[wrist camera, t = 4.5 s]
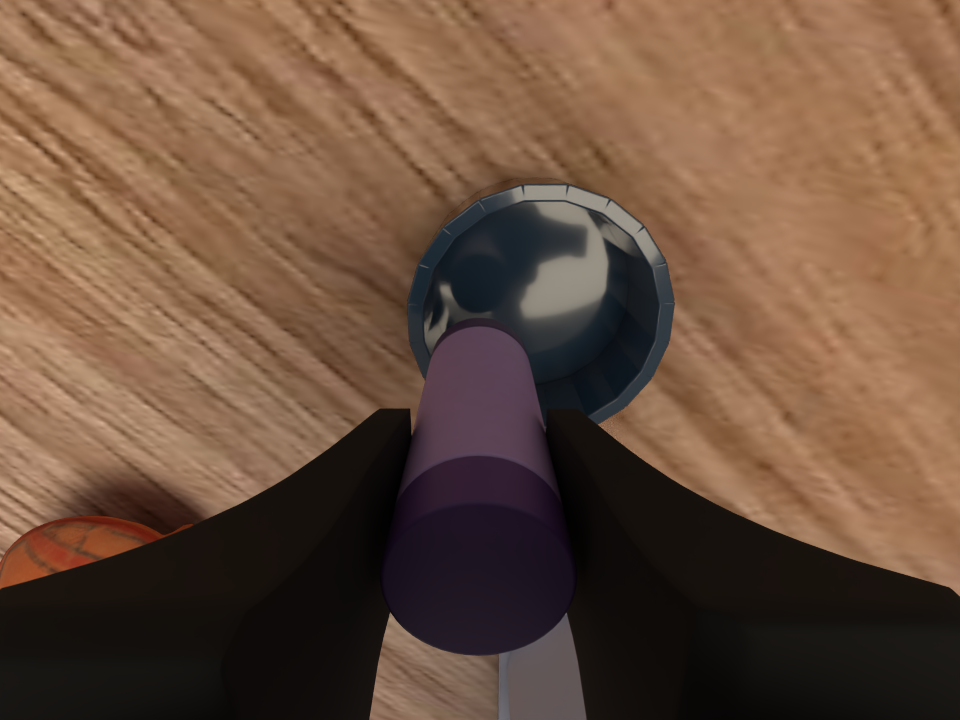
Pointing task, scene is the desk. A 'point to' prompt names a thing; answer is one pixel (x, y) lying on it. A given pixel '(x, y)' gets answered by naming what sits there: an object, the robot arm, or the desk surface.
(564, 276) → the desk cup
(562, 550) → the glue stick
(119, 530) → the pot
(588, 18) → the desk surface
